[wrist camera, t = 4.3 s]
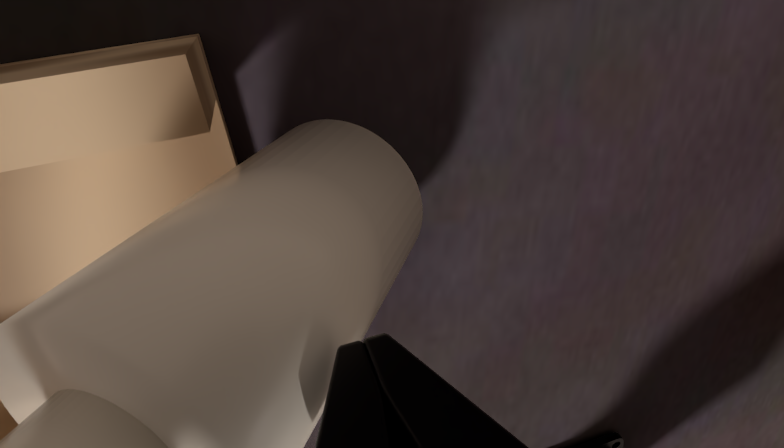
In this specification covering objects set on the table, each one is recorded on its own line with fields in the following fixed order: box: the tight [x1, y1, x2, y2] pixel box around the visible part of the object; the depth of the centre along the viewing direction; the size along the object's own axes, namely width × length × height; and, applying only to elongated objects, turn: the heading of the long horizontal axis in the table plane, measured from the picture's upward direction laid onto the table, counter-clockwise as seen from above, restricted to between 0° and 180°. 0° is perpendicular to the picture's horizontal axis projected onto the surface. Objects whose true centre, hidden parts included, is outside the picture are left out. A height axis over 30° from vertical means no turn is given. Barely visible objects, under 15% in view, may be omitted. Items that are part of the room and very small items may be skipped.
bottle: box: [0, 119, 423, 448], centre depth 9 cm, size 5×5×12 cm
